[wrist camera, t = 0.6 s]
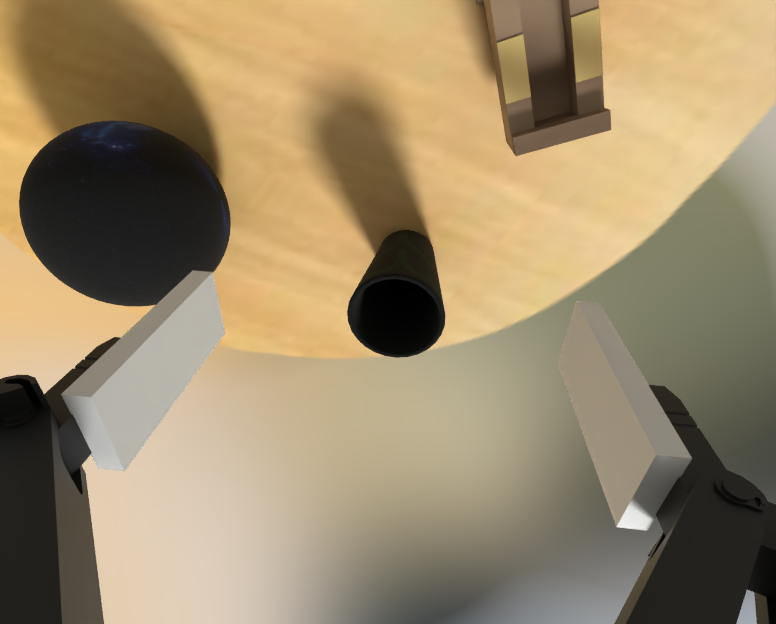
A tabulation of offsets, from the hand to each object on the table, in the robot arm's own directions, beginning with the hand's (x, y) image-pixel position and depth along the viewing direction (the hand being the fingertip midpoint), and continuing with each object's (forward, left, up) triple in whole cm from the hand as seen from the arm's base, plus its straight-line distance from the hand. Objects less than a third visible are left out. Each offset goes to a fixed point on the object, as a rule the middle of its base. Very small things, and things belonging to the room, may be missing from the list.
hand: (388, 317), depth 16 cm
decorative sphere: (-3, -24, -27) cm, 36 cm away
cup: (+9, -4, -27) cm, 29 cm away
